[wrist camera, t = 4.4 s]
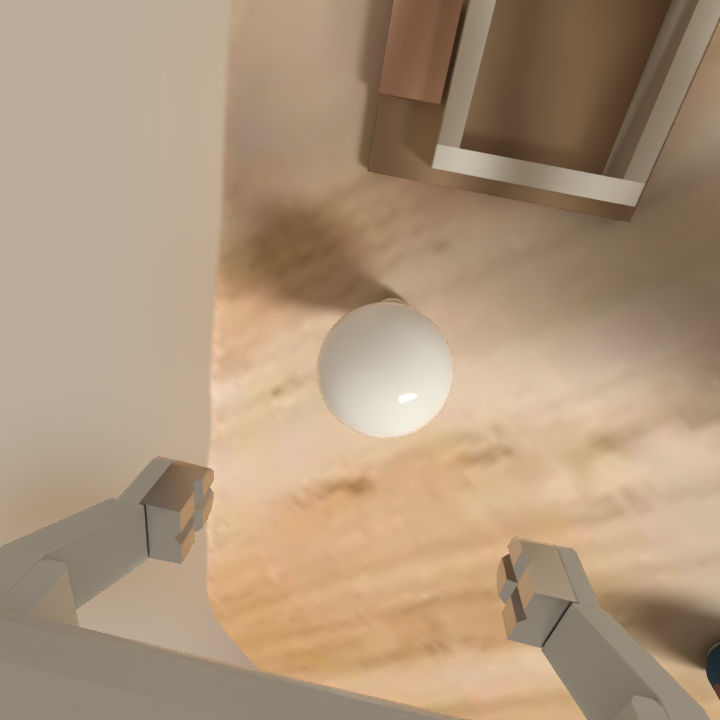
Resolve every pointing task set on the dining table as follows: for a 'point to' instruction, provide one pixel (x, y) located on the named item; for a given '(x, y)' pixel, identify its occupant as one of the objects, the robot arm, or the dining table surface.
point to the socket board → (537, 95)
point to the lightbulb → (385, 370)
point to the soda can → (714, 667)
